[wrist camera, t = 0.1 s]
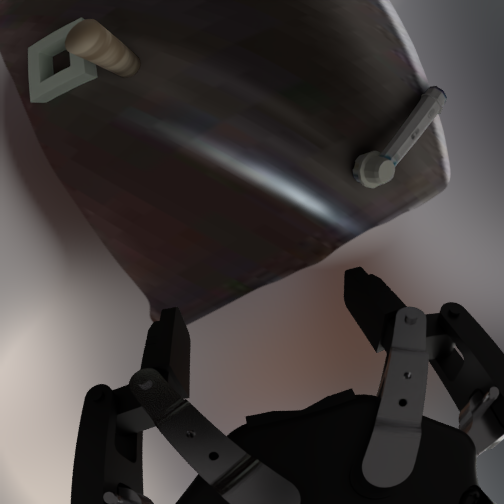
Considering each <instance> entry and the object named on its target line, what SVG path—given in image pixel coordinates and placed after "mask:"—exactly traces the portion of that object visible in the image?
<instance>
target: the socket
mask: <svg viewBox="0 0 504 504" xmlns="http://www.w3.org/2000/svg"><path fill="white" fill-rule="evenodd" d="M83 20H85V19H83V18H80V19H78V20H76V21H74V22H72V23H70V24H68V25H66V26H64V27H62V28H60V29H58V30H57V31H55V32H53V33H51V34H50V35H48V36H46V37H45V38H43V39H41V40H40V41H38V42H37V43H35V44H34V45H32V46H31V47H29V48H28V74H29V90H30V101H31V102H41V103H46V102H48V101H50V100H52V99H53V98H55V97H57V96H59V95H61V94H63V93H65V92H67V91H69V90H71V89H73V88H75V87H77V86H79V85H82V84H84V83H86V82H88V81H91V80H93V79H95V78H98V77H97V69H96V64H94V63H92V62H90V61H87V60H85V59H83V58H81V57H79V56H76V55H74V54H72V53H70V67H68V68H66V69H64V70H62V71H60V72H58V73H56V74H55V75H54V70H53V56H55V55H57V54H59V53H61V52H62V51H64V50H66V48H65V40H66V37H67V35H68V33H69V31H70V30H71V29H72V28H73V27H74V26H75V25H76V24H77V23H79V22H81V21H83Z"/></svg>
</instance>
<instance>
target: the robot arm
mask: <svg viewBox="0 0 504 504" xmlns="http://www.w3.org/2000/svg"><path fill="white" fill-rule="evenodd" d="M344 301H345V305H346V307H347V308H348V310H349V311H350V313H351V315H352V316H353V318H354V319H355V321H356V322H357V324H358V325H359V326H360V328H361V329H362V331H363V333H364V334H365V336H366V337H367V339H368V340H369V342H370V343H371V345H372V346H373V348H374V350H375V351H376V353H378V352H380V351H383V350H385V351H386V352H387V355H386V359H385V364H384V368H383V373H382V377H381V381H380V385H379V389H378V392H377V396H373V395H364V394H363V395H355V394H354V392H353V390H352V389H349V390H346V391H343V392H340V393H337V394H334V395H331V396H327V397H326V398H324V399H322V400H320V401H319V402H317V403H315V404H313V405H311V406H309V407H308V408H306V409H303V410H298V411H271V412H266V413H262V414H257V415H251V416H246V421H247V424H244V425H242V426H240V427H239V428H237V429H235V430H234V431H232V432H231V433H230V434H229V435H227V436H225V435H224V434H223V433H222V432H221V431H220V430H218V429H217V428H216V427H215V426H214V425H213V424H212V423H211V422H210V421H208V420H207V419H206V418H205V417H204V416H203V415H202V414H201V413H200V412H199V411H198V410H197V409H196V408H195V407H194V406H193V405H191V403H189V402H188V401H187V400H186V399H185V398H189V384H190V382H189V380H190V336H189V332H188V330H187V327H186V324H185V322H184V320H183V317H182V315H181V312H180V310H179V308H178V307H174V308H169V309H163V310H162V312H161V317H160V321H156V322H154V323H153V324H152V325H151V327H150V328H149V330H148V334H147V340H146V344H145V345H146V346H145V348H144V354H143V358H142V364H141V369H140V370H139V371H138V372H136V373H135V374H134V375H133V376H132V377H131V379H130V381H129V384H128V385H126V386H123V387H121V388H118V389H115V390H111V388H110V387H109V386H107V385H104V384H99V385H96V386H94V387H92V388H91V389H90V390H89V391H88V392H87V394H86V396H85V401H84V405H83V410H82V415H81V420H80V425H79V431H78V437H77V443H76V450H75V458H74V466H73V476H72V490H71V504H154V503H153V502H152V501H151V500H150V499H149V498H148V497H146V496H144V495H143V469H142V440H143V437H142V436H143V430H146V429H149V428H152V427H155V426H156V427H157V428H158V429H159V431H160V432H161V433H162V434H163V435H164V437H165V438H166V439H167V440H168V441H169V443H170V444H171V445H172V446H173V447H174V448H175V449H176V450H177V452H179V454H180V455H181V456H182V457H183V458H184V459H185V460H186V461H187V462H188V464H190V466H191V467H192V468H193V469H194V470H195V471H197V473H198V475H197V477H196V478H195V479H194V481H193V482H192V483H191V485H190V486H189V487H188V488H187V490H186V491H185V492H184V494H183V495H182V496H181V497H180V499H179V500H178V501H177V502H176V504H496V503H495V502H494V501H492V500H491V499H490V498H489V497H488V496H487V495H486V494H485V493H484V492H483V491H482V490H481V488H480V487H479V484H478V479H477V471H476V461H477V456H478V455H479V454H480V453H482V452H483V451H485V450H490V449H492V448H493V447H495V446H496V445H497V444H498V443H500V442H501V441H502V440H503V439H504V354H503V352H502V351H501V350H500V348H499V347H498V346H497V345H496V343H495V342H494V341H493V340H492V339H491V338H490V336H489V335H488V334H487V333H486V332H485V331H484V329H483V328H482V327H481V326H480V325H479V324H478V323H477V322H476V320H475V319H474V318H473V317H472V316H471V315H470V314H469V313H468V312H467V310H466V309H465V308H464V307H463V306H461V305H460V304H457V303H453V302H450V303H446V304H444V305H443V306H442V307H441V310H440V313H435V314H427V315H425V314H424V313H423V311H421V310H419V309H418V308H415V307H407V306H406V305H405V304H404V303H403V302H402V301H401V300H400V299H399V298H398V297H397V295H396V294H395V293H394V292H393V291H391V289H390V288H389V287H388V286H386V284H385V283H384V282H383V281H382V279H380V278H379V277H377V276H375V275H373V274H370V275H368V274H367V273H366V272H365V271H364V269H363V268H362V267H356V268H353V269H349V270H346V271H345V276H344ZM455 345H456V346H457V348H458V349H459V350H460V352H461V353H462V355H463V357H464V360H463V359H462V357H461V356H460V355H459V353H458V352H457V351H456V349H455V348H454V347H455ZM428 360H429V362H430V364H431V365H432V367H433V368H434V370H435V371H436V373H437V374H438V376H439V378H440V379H441V381H442V382H443V384H444V386H445V387H446V389H447V390H448V392H449V394H450V396H451V397H452V399H453V401H454V402H455V404H456V406H457V407H458V409H459V411H460V414H459V429H457V428H454V427H452V426H449V425H446V424H443V423H441V422H438V421H436V420H433V419H430V418H428V417H425V416H423V415H422V414H423V407H424V400H425V393H426V384H427V374H428ZM184 399H185V400H184Z"/></svg>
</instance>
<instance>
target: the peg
mask: <svg viewBox="0 0 504 504" xmlns="http://www.w3.org/2000/svg"><path fill="white" fill-rule="evenodd" d="M65 48H66V50H67V51H68V52H70V53H72V54H74V55H76V56H79V57H81V58H83V59H85V60H87V61H90V62H92V63H94V64H96V65H98V66H100V67H102V68H104V69H106V70H108V71H110V72H112V73H114V74H116V75H118V76H120V77H123V78H128V77H131V76H133V75H134V74H136V73H137V71H138V70H139V68H140V64H141V62H140V59H139V58H138V56H136V55H135V54H134V53H133V52H132V51H131V50H130V49H129V48H127V47H126V46H125V45H124V44H123V43H122V42H121V41H120V40H118V39H117V38H116V37H115V36H114V35H113V34H111V33H110V32H109V31H108V30H107V29H106V28H104V27H103V26H102V25H101V24H100V23H98V22H97V21H96V20H94V19H86V20H83V21H81V22H79V23H77V24H76V25H75V26H74V27H73V28H72V29H71V30H70V31H69V33H68V35H67V37H66V40H65Z"/></svg>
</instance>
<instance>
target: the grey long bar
mask: <svg viewBox="0 0 504 504" xmlns="http://www.w3.org/2000/svg"><path fill="white" fill-rule="evenodd" d="M446 98H447V97H446V95H445V93H444V91H443V90H441V89H440V88H438V87H437V86H433V87H430V88H429V89H428V90H427V92H426V93H425V94H422V95H421V100H420V101H419V103H418V104H417V106H416V107H415V108H414V110H413V111H412V113H411V114H410V115H409V117H408V118H407V119H406V121H405V122H404V124H403V125H402V126H401V128H400V129H399V130H398V132H397V133H396V134H395V136H394V137H393V138H392V140H391V141H390V142H389V144H388V145H387V146H386V148H385V149H384V150H383V152H382V153H381V152H378V151H371V152H369V153H365V154H363V155H359V157H358V158H357V159H356V160H355V162H356V163H355V166H354V169H352V170H353V177H354V178H355V179H356V181H357V182H359V183H362V185H363V186H365V187H370V188H375V187H377V186H379V185H381V184H384V183H387V182H389V181H390V180H391V179H392V178H393V176H394V173H395V166H396V165H397V164H398V163H399V161H400V160H401V159H402V158H403V157H404V155H405V154H406V153H407V152H408V151H409V149H410V148H411V147H412V146H413V144H414V143H415V142H416V141H417V140H418V138H419V137H420V136H421V135H422V133H423V132H424V131H425V129H426V128H427V127H428V126H429V124H430V123H431V122H432V121H433V119H434V118H435V117H436V115H437V114H440V113H441V111H442V107H443V105H444V103H445V102H446Z"/></svg>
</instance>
